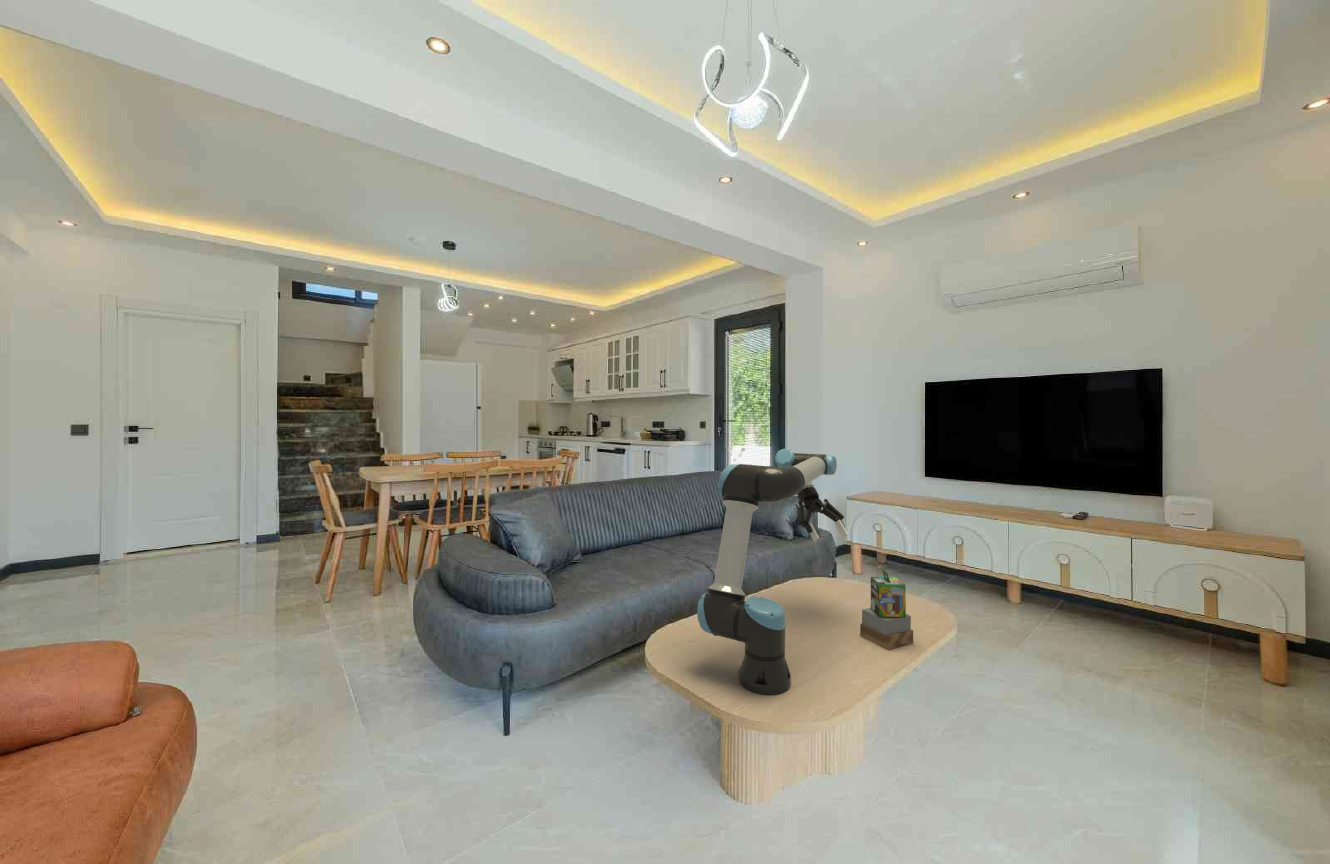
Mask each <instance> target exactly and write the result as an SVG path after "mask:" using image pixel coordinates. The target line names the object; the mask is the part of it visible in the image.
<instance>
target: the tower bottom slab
mask: <svg viewBox="0 0 1330 864" xmlns="http://www.w3.org/2000/svg"><path fill="white" fill-rule="evenodd" d="M859 630H860V632H859V637H860V638H863V639H864V640H867V641H869V642H870V643H872V644H875V645H876V646H879V647H881V648H882V649H884V650H887V651H890V650H894V649H898V648H901V647H904V646H908V645H911V644H914V629H911V630H910V631H905V632H901V633H896V634H892V635H888V636H886V635H884V634H882V633H880V632H878V631H876V630H874V629H872V628H870V627H868V626H866V625H864V624H862V623H860V627H859Z"/></svg>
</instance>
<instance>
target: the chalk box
mask: <svg viewBox="0 0 1330 864" xmlns="http://www.w3.org/2000/svg"><path fill="white" fill-rule="evenodd" d="M881 570H882V574H883V576H870V608H871V609H872V610H873V611H874V612H875V613H876V614H877V616H878V617H905V618H906V614H907V610H906V609H907V607H906V606H907V605H906V603H907V599H906V595H907V594H906V584H905V583H904V582H903V581H902V580H900V578H898V577H896V576H889V573H888V572H887V571H886V570H885V569H884V568H882V569H881Z"/></svg>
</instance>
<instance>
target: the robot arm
mask: <svg viewBox="0 0 1330 864" xmlns="http://www.w3.org/2000/svg"><path fill="white" fill-rule="evenodd" d="M836 458H837V457H836V456H835V455H834V454H827V453H826V454H821V453H801V452H800V453H799V452H793V451H792V450H790V449H788V448H782V449H780V450H778V451H777V452H776V454H775V456H774V461H775V464H776V465H777V466H771V465H759V464H758V465H757V464H747V463H746V464H743V463H739V464H737V463H736V464H735V463H732V464H729V465H727V466H726V467H724V469H723V470H722V471H721V474H720V476H719V479H718V483H717V484H718V485H717V489H718V494H719V496H720V497H721V498H722V504H723V505H724V506H725V513H724V520H723V525H722V532H721V539H720V545H719V551H718V557H717V561H716V562H717V563H716V569H715V576H714V581H713V583H712V584H711V585H709V586H708V588H707V592H704V593H703V594H701V596H700V599H698V602H697V609H696V611H697V615H696V616H697V620H698V623H699V627H700V628H701V630H703V631H704V632H705V633H708V634H711V635H713V636H715V637H716V636H717V637H721V638H725V639H729V640H733V641H737V642H739V643H744V655H743V658H742V661H741V664H740V667H739V670H738V681H739V684H740V685H741V686H742V687H743V688H745V689H746V690H748V691H750V692H752V693H755V694H760V695H761V694H762V695H778V694H782V693H785V692H786V691H788V690H789V689H790V688H791V685H792V675H791V672H790V669H789V666H788V665H789V664H788V663H787V659H786V653H785V652H786V625H787V624H786V613H785V610H784V608H783V607H782V605H780V603H778V602H777V601H775V600H772V599H770V598H767V597H761V596H759V597H758V596H752V597H748V598H747V599H746V593H745V592H744V591H743V589H742V586H743V578H744V573H745V567H746V561H747V560H746V559H747V552H748V545H749V539H750V533H751V525H752V519H753V515H754V512H755V511H756V510H758V509H759V504H760V502H761V503H775V502H776V503H777V502H781V501H785V500H787V499H790V498H792V497H795V496H797V498H798V500H799V501H798V502H797V503H796V505H795V507H796V508H797V524H798V526H801V527H802V528H805V530H806V532H807V533H808V534H809V535H810V537H811V539H812V541H813V542H814V543H816V542H817V541H818V540H819V538H820V536H819V534H818V532H817V531H816V529H815V527H814V525H813V523H812V522H810V519H811V515H812V514H814V513H820V514H823V515H824V516H825V517H827V518H829V519H830V520H832V521H833V522H835V523H834V524H835V526H836V528H837V530H838V532H839V534H840V535H841V537H842V539H845V538H846V537H848V535H849V533H848V531H847V530H846V527H845V524H844V522H843V521H842V520H843V519H844V518H845V516H844V515H843V513H841V512H840V511H839V510H838V509H837V508H836V507H835V506H833V505H832V503H830V501H829V500H828V499H827V498H824V499H823V500H822V499H820V497H819V495H820V494H819V493H818V491H817V488H815V485H814V484H813V481H814V480H815V479H818V478H819V477H821V476H822V475H824V476H825V475H826V476H829V475H830V476H832V475H835V474H836V472H837V468H838V467H837V466H838V464H837V459H836ZM804 509H806V510H804ZM745 599H746V600H745Z"/></svg>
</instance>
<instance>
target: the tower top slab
mask: <svg viewBox="0 0 1330 864" xmlns="http://www.w3.org/2000/svg"><path fill="white" fill-rule="evenodd" d="M861 611H862V612H861V624H864V625H866V626H868V627H870V628H872V629H874V630H876V631H878V632H880V633H882V634H884V635H886V636H888V635H892V634H896V633H901V632H905V631H910V630H912V627H911V625H912V624H911V623H912V619H911V618H912V616H911V615H910V614H908V613H906V618H905V617H878V616H877V614H876V613H875V612H874V611H873V610H872V609H871V607H867V608H863V609H861Z"/></svg>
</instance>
